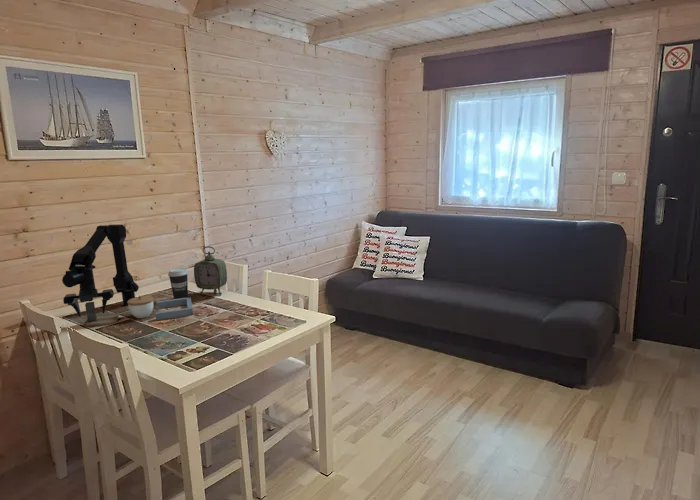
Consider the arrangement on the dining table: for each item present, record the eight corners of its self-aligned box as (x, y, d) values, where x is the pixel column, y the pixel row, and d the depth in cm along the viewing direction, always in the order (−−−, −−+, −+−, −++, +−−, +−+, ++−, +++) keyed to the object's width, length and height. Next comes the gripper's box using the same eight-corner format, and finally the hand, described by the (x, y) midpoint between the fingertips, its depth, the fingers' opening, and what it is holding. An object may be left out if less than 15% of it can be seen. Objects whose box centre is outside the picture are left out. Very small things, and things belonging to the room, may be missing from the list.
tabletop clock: (196, 295, 242) (191, 247, 237) (205, 290, 251) (200, 244, 246) (221, 296, 239) (217, 248, 234) (230, 291, 248) (226, 244, 242)
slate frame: (157, 307, 225) (156, 301, 225) (191, 302, 231) (190, 297, 230) (156, 320, 208) (155, 313, 207) (193, 314, 213) (192, 308, 213)
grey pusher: (89, 320, 213) (86, 299, 211) (119, 315, 217) (116, 296, 215) (85, 328, 202) (81, 307, 200) (116, 324, 206) (113, 303, 204)
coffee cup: (166, 301, 235) (163, 272, 232) (178, 295, 244) (175, 267, 241) (183, 302, 232) (179, 272, 229) (194, 296, 241) (191, 267, 238)
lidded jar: (159, 311, 219) (157, 292, 217) (147, 320, 209) (144, 299, 207) (137, 311, 220) (134, 292, 218) (124, 320, 210) (121, 299, 208)
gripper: (57, 288, 193) (64, 324, 197) (108, 282, 200) (113, 317, 203) (63, 281, 204) (69, 316, 207) (111, 276, 210) (116, 309, 213)
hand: (92, 315), depth 207 cm, fingers open, 9 cm apart
